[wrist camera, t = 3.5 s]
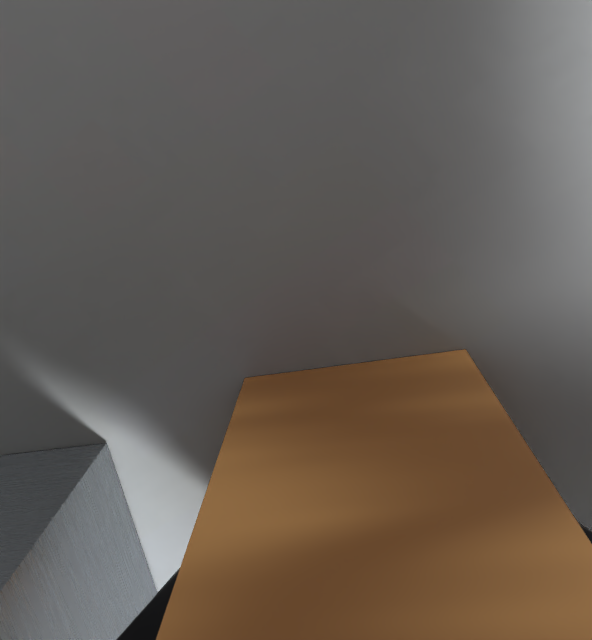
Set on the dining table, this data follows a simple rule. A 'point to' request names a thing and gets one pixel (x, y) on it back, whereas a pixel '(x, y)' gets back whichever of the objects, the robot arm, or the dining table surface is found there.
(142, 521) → the dining table surface
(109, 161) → the dining table surface
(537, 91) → the dining table surface
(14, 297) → the dining table surface
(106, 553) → the gray block with handle
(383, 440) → the wooden block
